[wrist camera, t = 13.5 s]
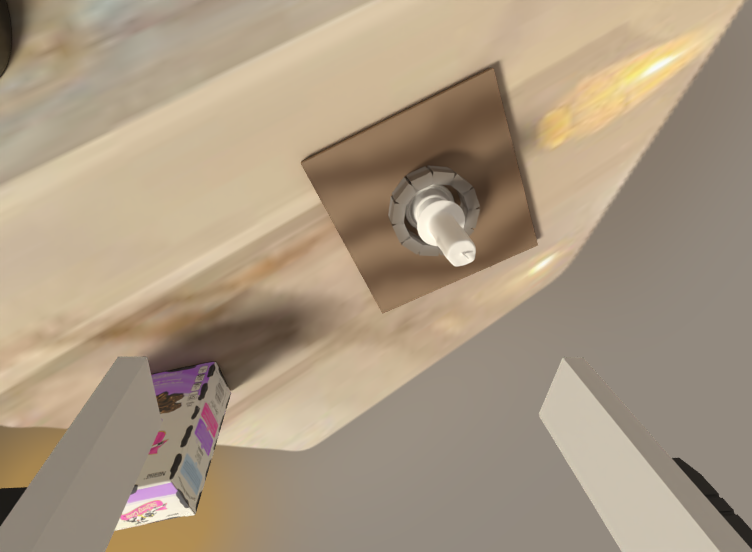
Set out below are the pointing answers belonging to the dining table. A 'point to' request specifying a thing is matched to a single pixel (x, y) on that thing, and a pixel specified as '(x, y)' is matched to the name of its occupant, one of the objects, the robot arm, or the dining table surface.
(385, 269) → the flange board
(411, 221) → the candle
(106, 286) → the dining table surface
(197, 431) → the candy box
